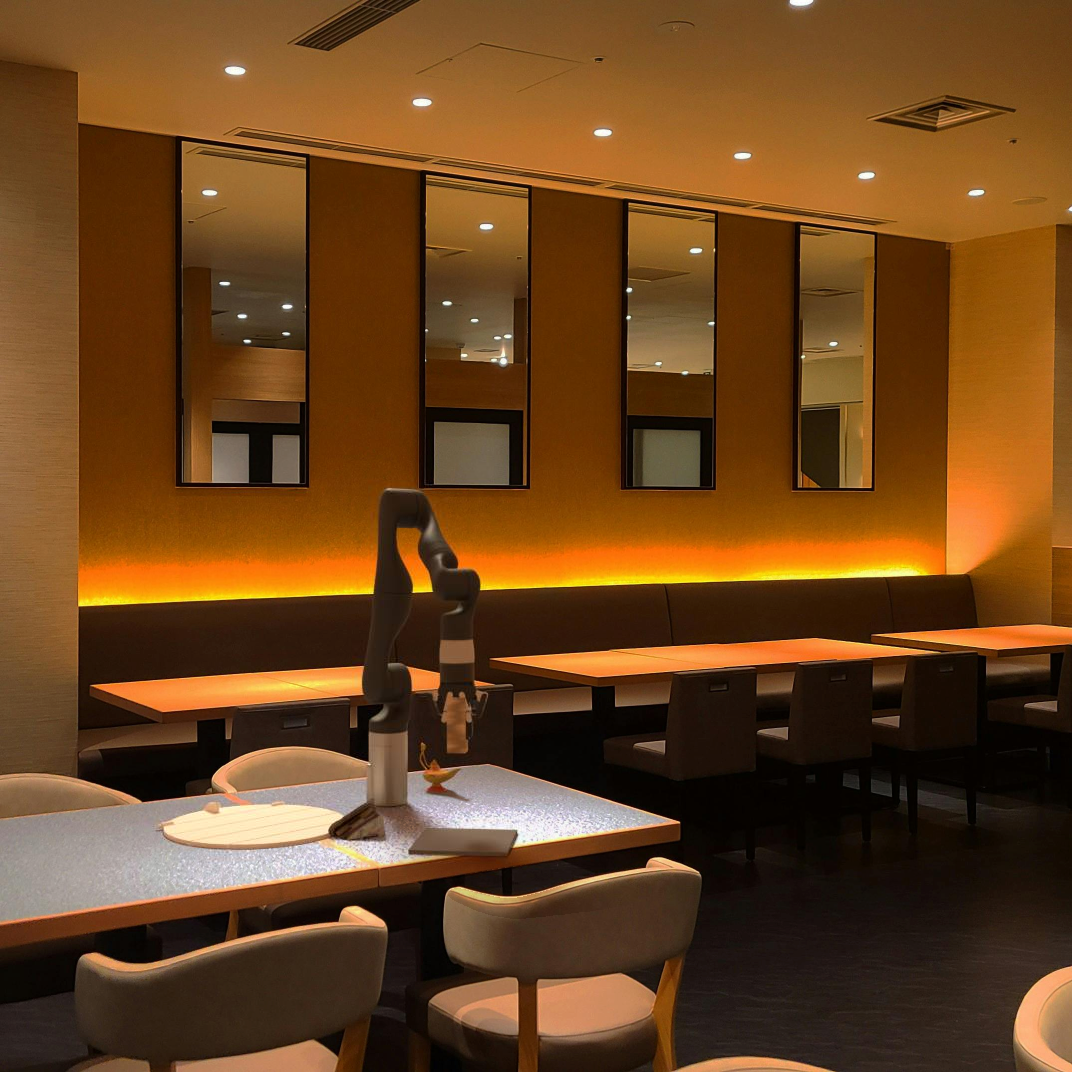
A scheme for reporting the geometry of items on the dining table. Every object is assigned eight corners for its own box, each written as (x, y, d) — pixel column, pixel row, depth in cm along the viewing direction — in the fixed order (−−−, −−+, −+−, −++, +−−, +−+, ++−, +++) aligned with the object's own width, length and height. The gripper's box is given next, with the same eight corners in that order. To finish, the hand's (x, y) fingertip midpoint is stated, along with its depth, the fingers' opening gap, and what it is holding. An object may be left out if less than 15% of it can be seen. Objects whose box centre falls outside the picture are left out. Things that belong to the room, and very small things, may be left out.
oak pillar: (447, 753, 283) (446, 697, 283) (449, 750, 287) (449, 695, 287) (465, 753, 282) (464, 697, 283) (467, 750, 286) (467, 695, 287)
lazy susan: (127, 828, 287) (127, 812, 287) (275, 801, 315) (275, 787, 315) (230, 860, 259) (230, 842, 259) (382, 828, 288) (382, 812, 288)
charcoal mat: (408, 853, 263) (408, 849, 263) (425, 831, 283) (425, 827, 283) (507, 856, 262) (507, 852, 262) (517, 833, 282) (517, 829, 282)
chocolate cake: (341, 846, 272) (381, 803, 276) (324, 830, 277) (364, 788, 281) (364, 869, 278) (403, 826, 281) (347, 853, 283) (386, 812, 287)
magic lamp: (450, 798, 318) (450, 753, 318) (408, 787, 332) (408, 743, 332) (472, 794, 323) (473, 750, 323) (430, 783, 337) (430, 741, 337)
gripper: (421, 661, 282) (422, 741, 281) (487, 661, 280) (488, 742, 280) (427, 658, 289) (428, 736, 289) (491, 658, 288) (492, 736, 288)
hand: (457, 738), depth 285 cm, fingers closed on oak pillar, 4 cm apart
